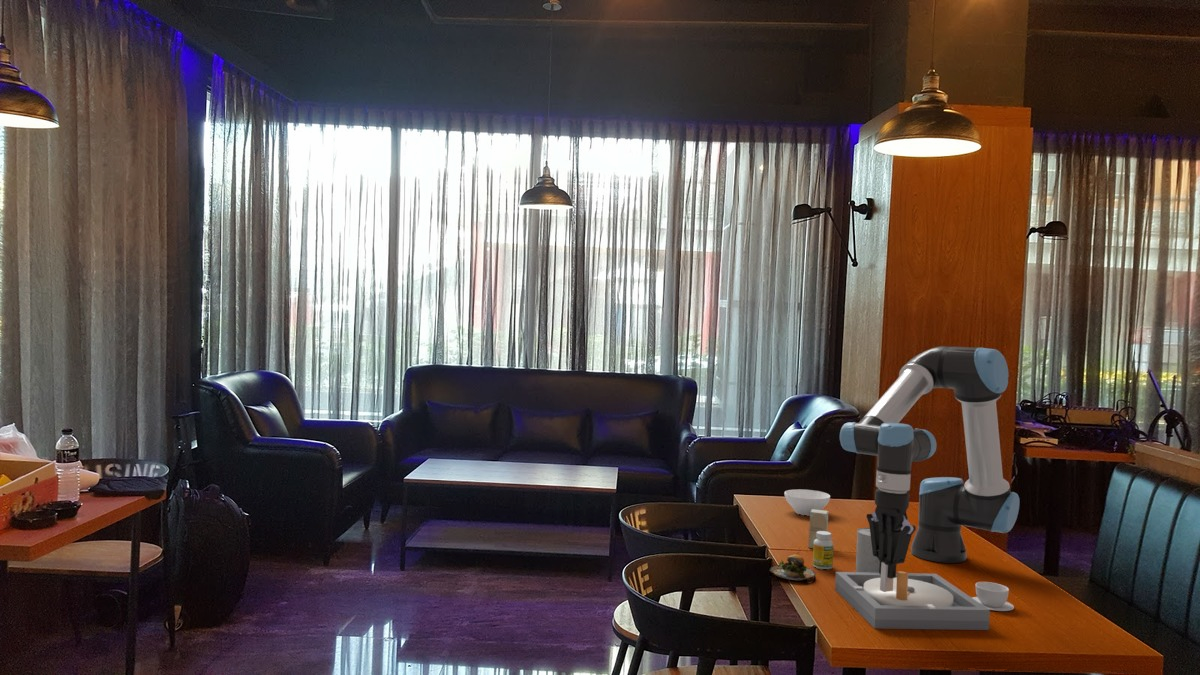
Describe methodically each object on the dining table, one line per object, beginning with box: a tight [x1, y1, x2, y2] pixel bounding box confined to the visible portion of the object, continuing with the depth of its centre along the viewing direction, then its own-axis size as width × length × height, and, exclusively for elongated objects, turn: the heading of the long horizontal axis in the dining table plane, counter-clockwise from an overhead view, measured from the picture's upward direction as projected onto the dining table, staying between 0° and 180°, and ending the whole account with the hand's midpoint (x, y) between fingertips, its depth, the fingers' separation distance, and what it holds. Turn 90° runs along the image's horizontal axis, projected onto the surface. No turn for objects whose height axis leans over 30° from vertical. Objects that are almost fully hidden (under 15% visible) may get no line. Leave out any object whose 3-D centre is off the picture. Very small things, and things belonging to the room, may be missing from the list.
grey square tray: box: [834, 571, 991, 631], centre depth 192 cm, size 26×26×5 cm
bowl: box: [783, 488, 831, 517], centre depth 288 cm, size 16×16×7 cm
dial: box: [864, 570, 953, 606], centre depth 192 cm, size 20×20×8 cm
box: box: [807, 509, 829, 549], centre depth 243 cm, size 5×4×11 cm
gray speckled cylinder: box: [855, 527, 880, 573], centre depth 215 cm, size 10×10×12 cm
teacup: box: [971, 581, 1015, 612], centre depth 196 cm, size 10×10×5 cm
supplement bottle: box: [812, 531, 834, 570], centre depth 223 cm, size 5×5×10 cm
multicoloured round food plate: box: [769, 547, 817, 584], centre depth 214 cm, size 12×12×8 cm
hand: (886, 590), depth 188 cm, fingers closed
